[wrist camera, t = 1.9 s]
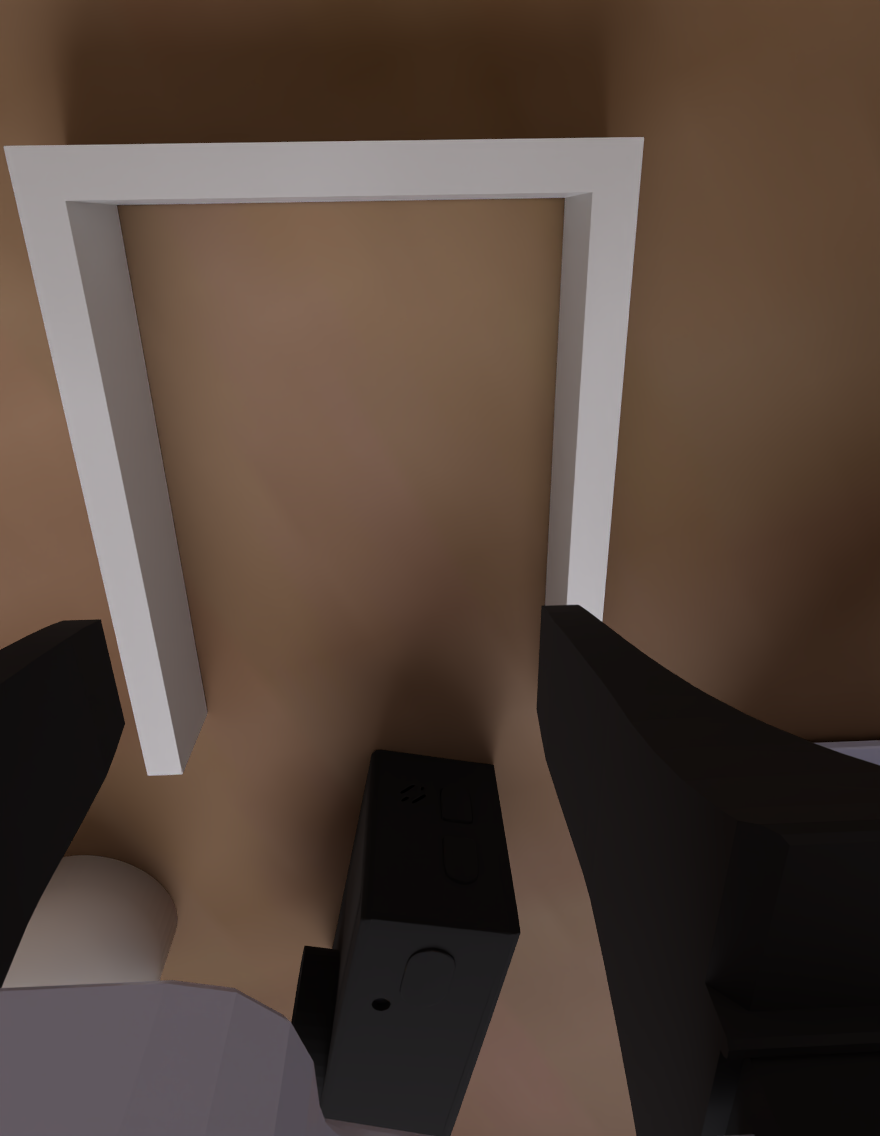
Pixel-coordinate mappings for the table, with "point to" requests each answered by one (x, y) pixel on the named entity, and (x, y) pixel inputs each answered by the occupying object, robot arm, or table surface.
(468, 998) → the digital camera
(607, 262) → the frame
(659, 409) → the table surface
